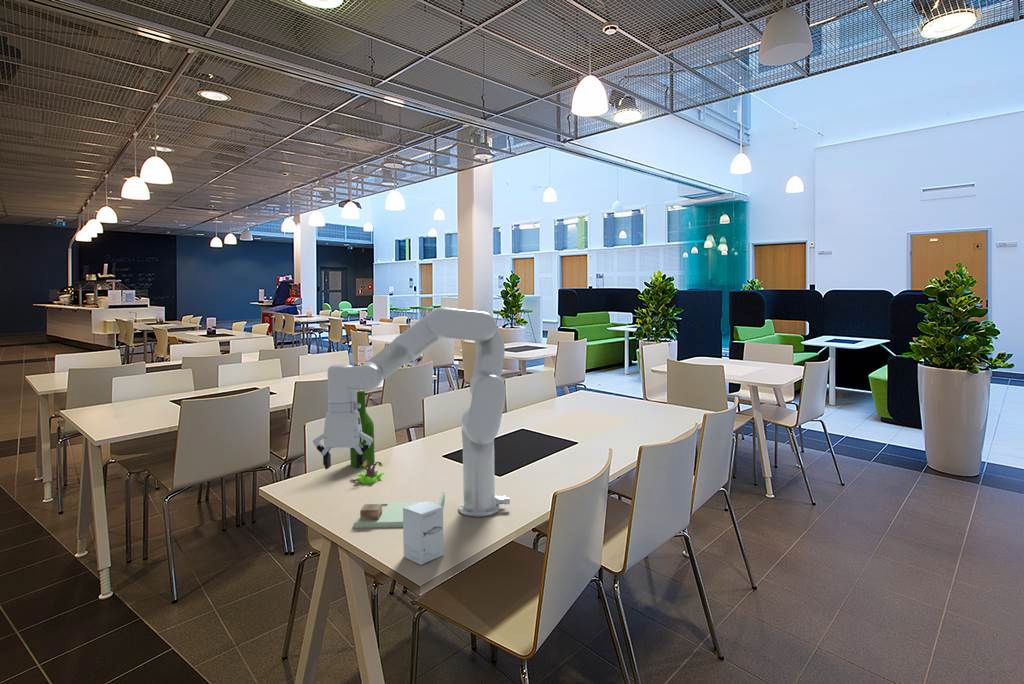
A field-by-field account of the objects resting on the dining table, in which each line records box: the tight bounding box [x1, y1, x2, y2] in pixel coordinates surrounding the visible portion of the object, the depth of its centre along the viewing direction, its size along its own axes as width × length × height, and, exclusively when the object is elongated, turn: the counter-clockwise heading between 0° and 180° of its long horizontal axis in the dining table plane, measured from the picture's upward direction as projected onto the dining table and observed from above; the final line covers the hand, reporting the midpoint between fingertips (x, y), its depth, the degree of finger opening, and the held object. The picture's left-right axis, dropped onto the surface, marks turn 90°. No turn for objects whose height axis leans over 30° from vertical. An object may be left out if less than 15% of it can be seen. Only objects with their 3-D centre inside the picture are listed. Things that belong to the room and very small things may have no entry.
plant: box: [349, 460, 385, 484], centre depth 186 cm, size 20×20×11 cm
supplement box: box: [402, 500, 445, 566], centre depth 132 cm, size 7×7×13 cm
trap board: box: [353, 491, 446, 529], centre depth 157 cm, size 24×16×6 cm, turn 92°
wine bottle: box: [349, 390, 376, 469], centre depth 203 cm, size 9×9×32 cm
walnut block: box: [359, 503, 383, 521], centre depth 153 cm, size 5×5×3 cm
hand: (343, 467), depth 152 cm, fingers open, 8 cm apart
